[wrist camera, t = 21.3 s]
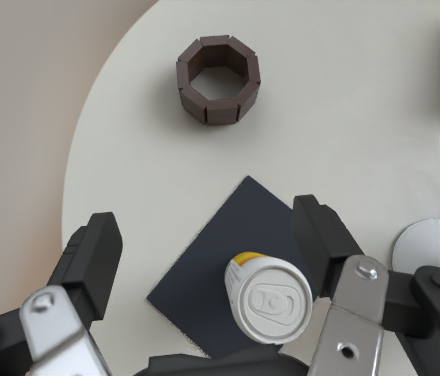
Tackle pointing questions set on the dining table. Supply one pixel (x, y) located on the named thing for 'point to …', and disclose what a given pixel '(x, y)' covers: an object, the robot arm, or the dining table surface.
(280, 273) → the beer can
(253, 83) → the segmented ring
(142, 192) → the dining table surface
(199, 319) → the mat
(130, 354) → the dining table surface
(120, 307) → the dining table surface
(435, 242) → the chalice
